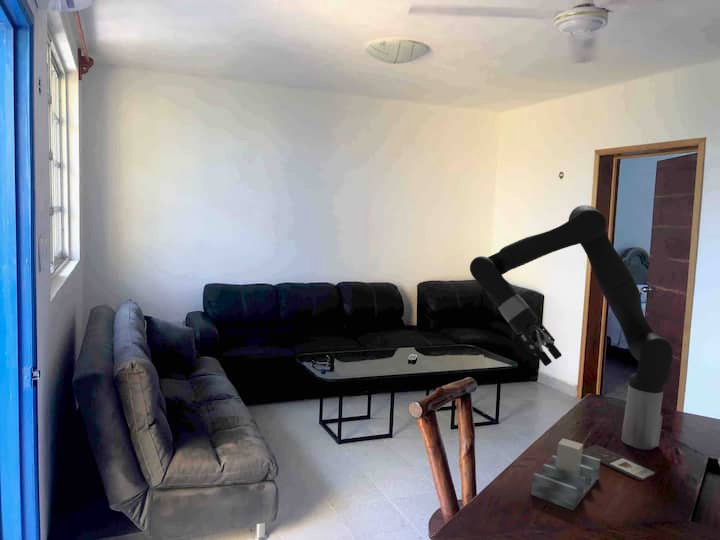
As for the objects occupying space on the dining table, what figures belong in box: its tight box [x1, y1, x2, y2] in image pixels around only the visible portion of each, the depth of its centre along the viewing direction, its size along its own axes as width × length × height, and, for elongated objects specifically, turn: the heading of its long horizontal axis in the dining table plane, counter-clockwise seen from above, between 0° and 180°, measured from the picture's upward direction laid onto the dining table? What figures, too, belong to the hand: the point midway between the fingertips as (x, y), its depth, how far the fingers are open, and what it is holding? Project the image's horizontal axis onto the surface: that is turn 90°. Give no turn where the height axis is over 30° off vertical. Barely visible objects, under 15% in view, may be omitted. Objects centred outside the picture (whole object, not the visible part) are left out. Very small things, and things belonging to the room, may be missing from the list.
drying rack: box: [530, 454, 601, 511], centre depth 146 cm, size 10×20×5 cm, turn 143°
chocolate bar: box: [582, 444, 658, 482], centre depth 161 cm, size 9×1×18 cm
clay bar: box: [555, 437, 584, 476], centre depth 145 cm, size 5×4×10 cm
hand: (554, 360), depth 164 cm, fingers open, 8 cm apart
